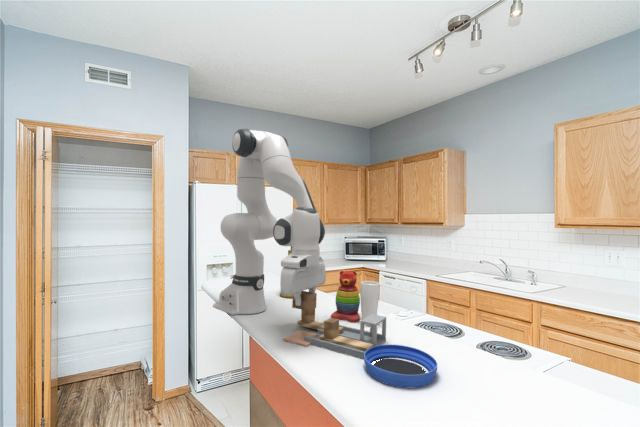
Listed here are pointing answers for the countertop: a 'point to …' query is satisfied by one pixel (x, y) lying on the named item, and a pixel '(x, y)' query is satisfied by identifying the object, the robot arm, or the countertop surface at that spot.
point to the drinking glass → (369, 298)
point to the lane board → (355, 336)
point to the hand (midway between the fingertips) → (304, 303)
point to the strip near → (333, 336)
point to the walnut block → (306, 301)
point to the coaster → (299, 338)
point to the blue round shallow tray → (400, 365)
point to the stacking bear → (347, 298)
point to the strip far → (312, 321)
